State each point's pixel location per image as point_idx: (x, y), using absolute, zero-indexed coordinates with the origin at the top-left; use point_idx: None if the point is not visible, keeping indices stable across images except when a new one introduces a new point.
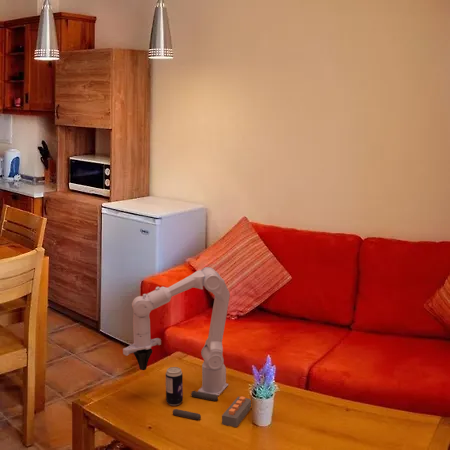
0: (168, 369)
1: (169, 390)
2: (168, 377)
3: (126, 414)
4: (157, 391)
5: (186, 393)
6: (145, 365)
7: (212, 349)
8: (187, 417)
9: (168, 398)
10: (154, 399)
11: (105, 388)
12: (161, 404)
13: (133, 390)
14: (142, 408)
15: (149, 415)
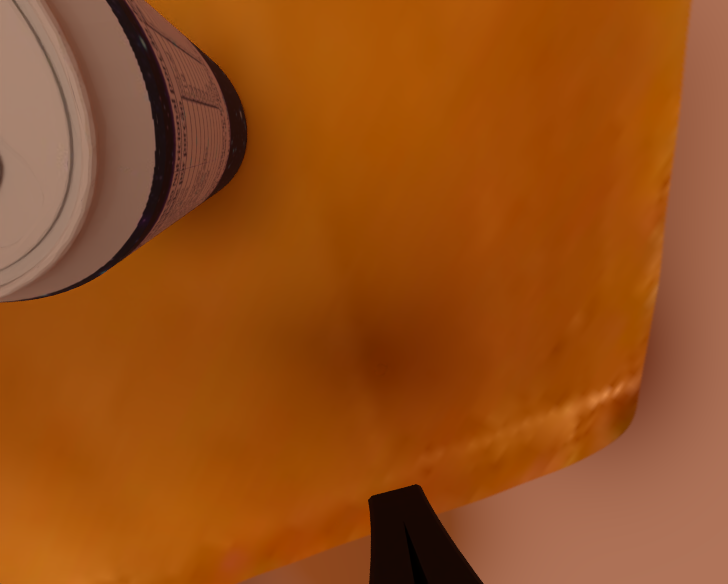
0: (18, 248)
1: (204, 63)
2: (144, 32)
3: (557, 171)
4: (231, 359)
5: None
6: (407, 550)
7: None
8: None
9: (233, 97)
10: (299, 266)
11: (468, 494)
12: (286, 165)
13: (361, 428)
14: (433, 189)
15: (449, 49)
